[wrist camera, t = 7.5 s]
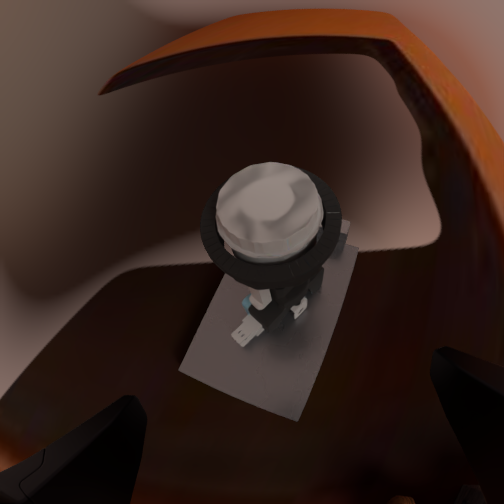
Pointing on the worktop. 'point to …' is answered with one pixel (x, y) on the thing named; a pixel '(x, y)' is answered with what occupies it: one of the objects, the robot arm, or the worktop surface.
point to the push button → (271, 239)
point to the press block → (470, 495)
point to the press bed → (271, 341)
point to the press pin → (401, 500)
